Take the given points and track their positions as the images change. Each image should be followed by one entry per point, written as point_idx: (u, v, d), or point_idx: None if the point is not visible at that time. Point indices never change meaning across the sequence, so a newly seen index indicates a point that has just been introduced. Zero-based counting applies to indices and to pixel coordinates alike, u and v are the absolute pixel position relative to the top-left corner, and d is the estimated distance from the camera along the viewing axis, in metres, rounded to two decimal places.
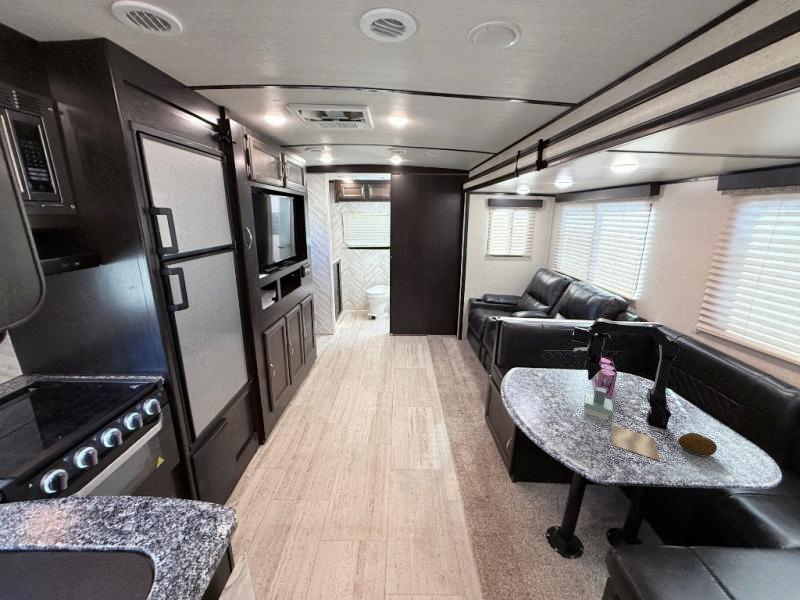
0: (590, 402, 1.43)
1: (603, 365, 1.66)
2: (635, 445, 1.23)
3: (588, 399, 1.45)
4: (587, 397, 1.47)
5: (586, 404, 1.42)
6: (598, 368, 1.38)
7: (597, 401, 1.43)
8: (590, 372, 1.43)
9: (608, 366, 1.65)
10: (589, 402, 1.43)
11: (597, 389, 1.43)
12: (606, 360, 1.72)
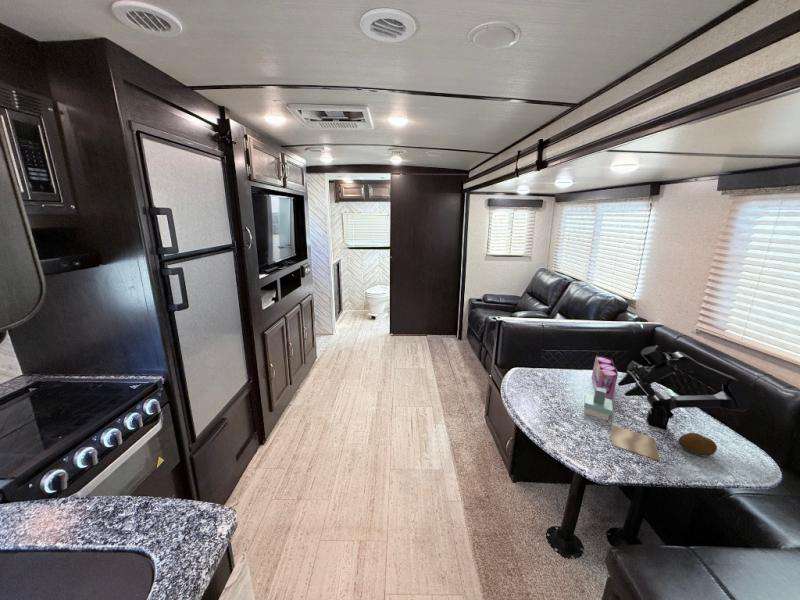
0: (590, 402, 1.43)
1: (603, 365, 1.66)
2: (635, 445, 1.23)
3: (588, 399, 1.45)
4: (587, 397, 1.47)
5: (586, 404, 1.42)
6: (652, 395, 1.28)
7: (597, 401, 1.43)
8: (634, 391, 1.33)
9: (608, 366, 1.65)
10: (589, 402, 1.43)
11: (597, 389, 1.43)
12: (606, 360, 1.72)
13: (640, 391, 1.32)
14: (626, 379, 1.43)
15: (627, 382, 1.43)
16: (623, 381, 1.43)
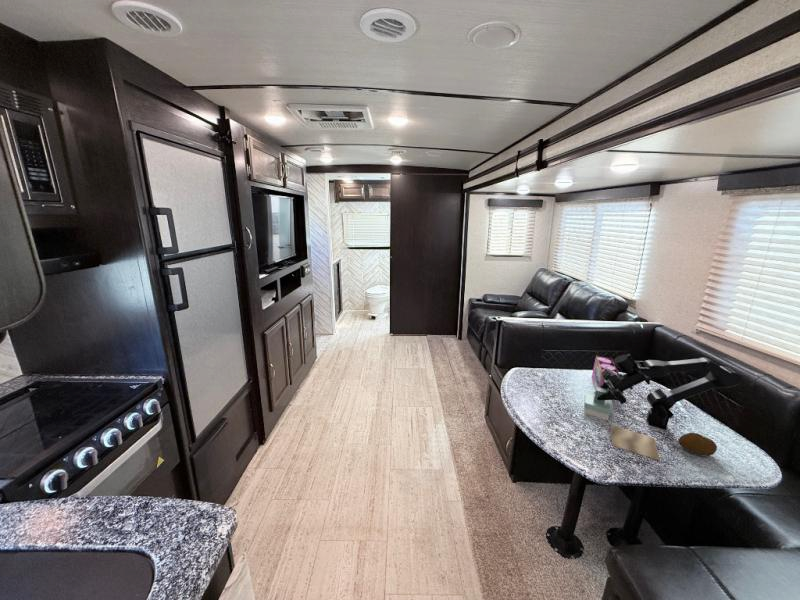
0: (590, 402, 1.43)
1: (604, 365, 1.66)
2: (635, 445, 1.23)
3: (588, 400, 1.45)
4: (587, 397, 1.47)
5: (586, 404, 1.42)
6: (623, 402, 1.32)
7: (597, 401, 1.43)
8: (606, 395, 1.39)
9: (609, 366, 1.65)
10: (589, 402, 1.43)
11: (597, 389, 1.43)
12: (606, 360, 1.72)
13: (611, 396, 1.38)
14: None
15: None
16: None
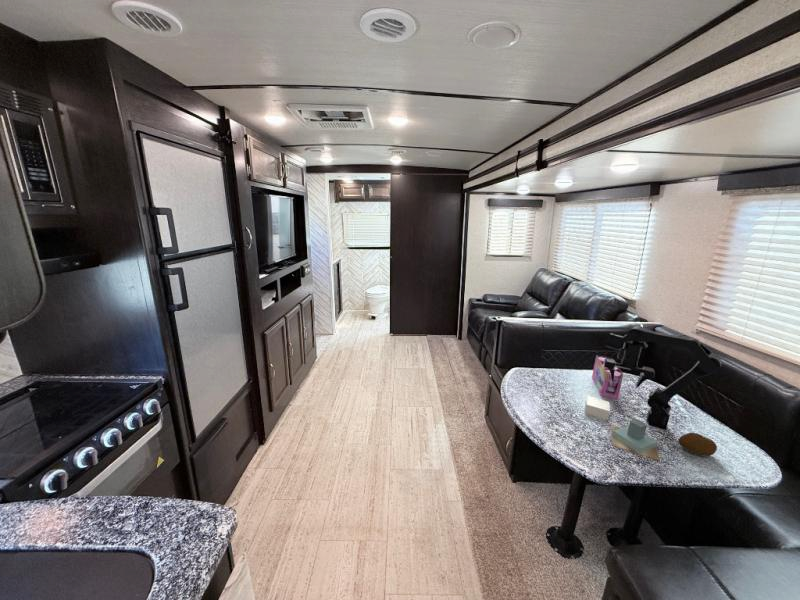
0: (639, 443, 1.21)
1: None
2: None
3: (632, 440, 1.22)
4: (626, 437, 1.24)
5: (641, 448, 1.19)
6: (604, 364, 1.46)
7: (640, 437, 1.23)
8: None
9: None
10: (639, 444, 1.20)
11: (638, 425, 1.22)
12: None
13: None
14: (638, 379, 1.42)
15: (638, 381, 1.41)
16: (637, 382, 1.43)
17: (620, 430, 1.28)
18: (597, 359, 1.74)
